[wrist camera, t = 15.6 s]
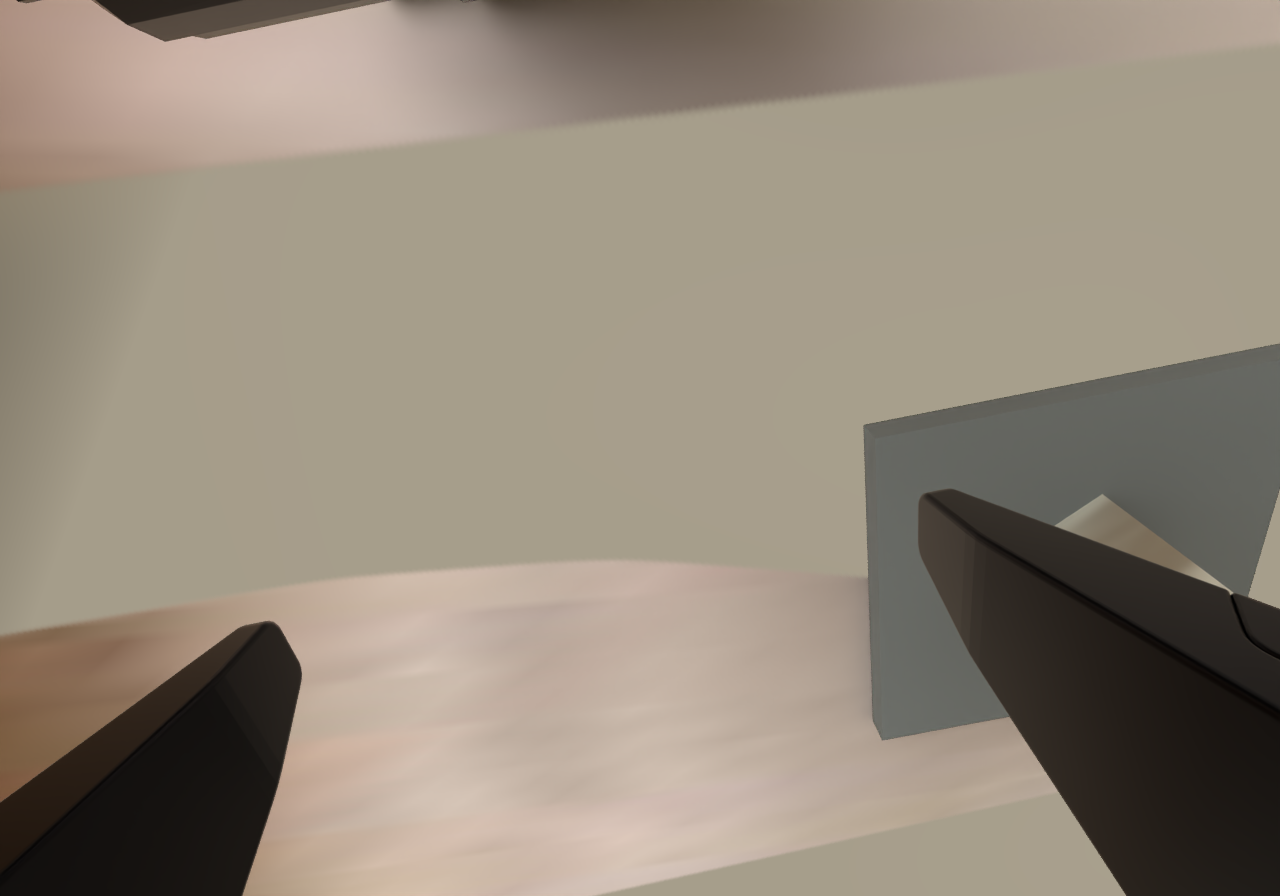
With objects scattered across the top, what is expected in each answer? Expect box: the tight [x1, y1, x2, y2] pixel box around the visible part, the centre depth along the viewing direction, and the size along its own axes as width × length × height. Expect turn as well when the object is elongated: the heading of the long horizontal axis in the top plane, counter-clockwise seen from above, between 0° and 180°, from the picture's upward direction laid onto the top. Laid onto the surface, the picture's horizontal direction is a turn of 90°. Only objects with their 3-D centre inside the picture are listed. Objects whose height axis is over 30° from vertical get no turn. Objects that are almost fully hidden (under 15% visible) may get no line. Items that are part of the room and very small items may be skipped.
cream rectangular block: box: [1055, 494, 1233, 595], centre depth 20 cm, size 4×4×9 cm
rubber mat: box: [864, 344, 1280, 740], centre depth 25 cm, size 14×14×1 cm
